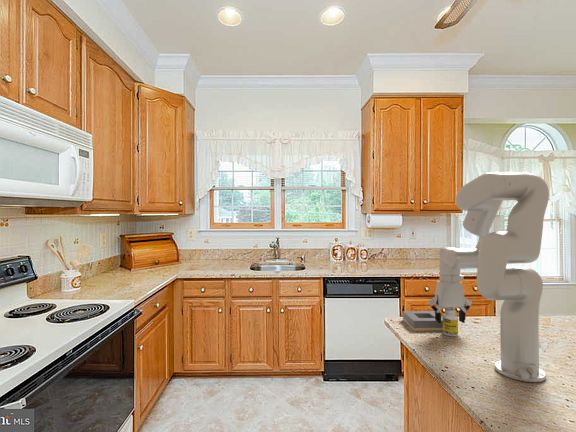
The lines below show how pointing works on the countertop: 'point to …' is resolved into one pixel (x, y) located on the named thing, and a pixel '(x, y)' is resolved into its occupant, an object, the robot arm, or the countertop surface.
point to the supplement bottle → (450, 322)
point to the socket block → (422, 320)
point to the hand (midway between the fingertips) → (450, 321)
